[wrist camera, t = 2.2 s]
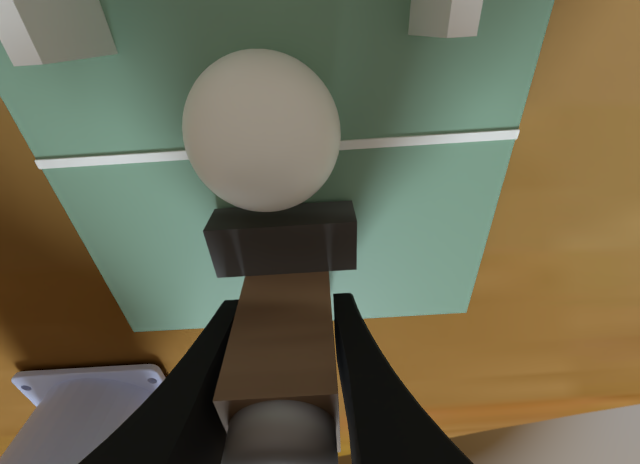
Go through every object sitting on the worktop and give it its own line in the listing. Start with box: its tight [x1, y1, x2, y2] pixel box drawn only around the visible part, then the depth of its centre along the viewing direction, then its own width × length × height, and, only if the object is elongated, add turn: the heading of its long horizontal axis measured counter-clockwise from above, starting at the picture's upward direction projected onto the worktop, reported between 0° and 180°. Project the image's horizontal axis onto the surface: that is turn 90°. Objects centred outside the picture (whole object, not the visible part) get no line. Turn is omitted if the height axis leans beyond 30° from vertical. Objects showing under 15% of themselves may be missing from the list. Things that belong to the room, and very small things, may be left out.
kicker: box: [203, 200, 357, 464], centre depth 10 cm, size 5×5×7 cm
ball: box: [182, 49, 341, 212], centre depth 8 cm, size 4×4×4 cm
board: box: [0, 0, 554, 332], centre depth 11 cm, size 17×16×1 cm
